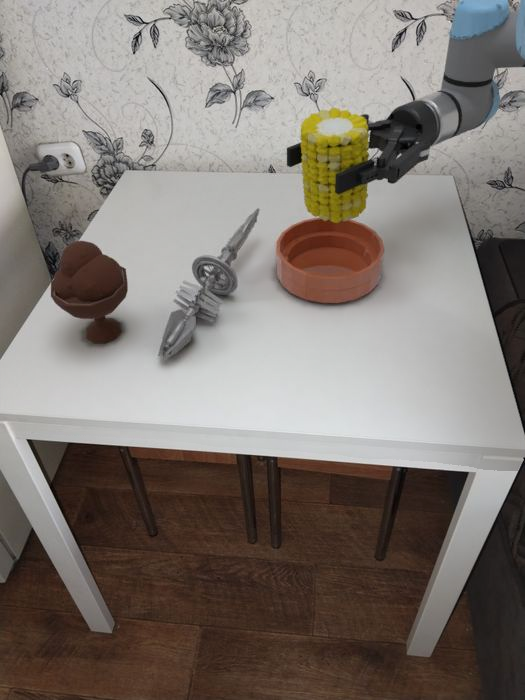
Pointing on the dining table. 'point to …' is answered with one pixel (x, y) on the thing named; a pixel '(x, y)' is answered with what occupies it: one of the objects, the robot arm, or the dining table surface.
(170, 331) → the spaceship
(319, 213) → the food
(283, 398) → the dining table surface
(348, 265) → the terracotta bowl
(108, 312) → the ice cream bowl
